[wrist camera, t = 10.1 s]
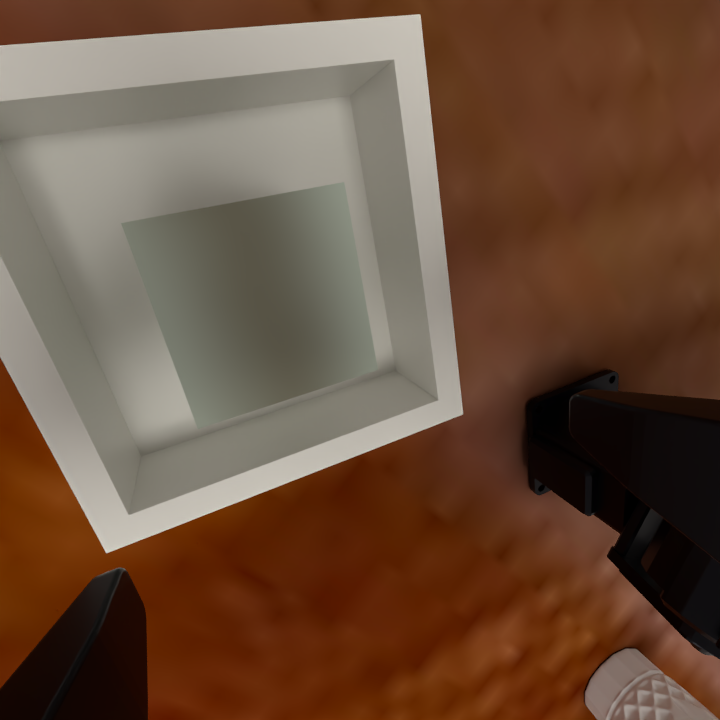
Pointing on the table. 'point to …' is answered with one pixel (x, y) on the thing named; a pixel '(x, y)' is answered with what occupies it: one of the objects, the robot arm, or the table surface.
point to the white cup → (639, 692)
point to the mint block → (257, 298)
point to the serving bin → (200, 190)
